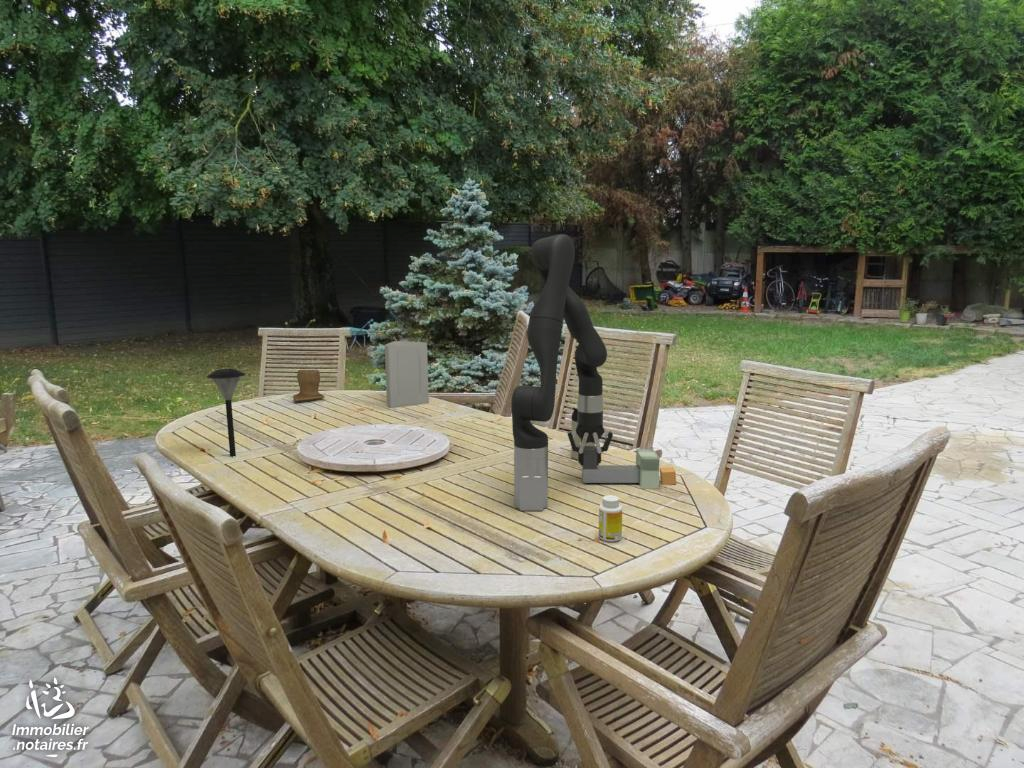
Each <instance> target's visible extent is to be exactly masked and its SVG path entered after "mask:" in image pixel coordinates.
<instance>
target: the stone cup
mask: <svg viewBox="0 0 1024 768" xmlns="http://www.w3.org/2000/svg"><path fill="white" fill-rule="evenodd" d="M296 380H297V383H298V386H299V392H298V393H296V394H293V396H292V399H293V402H294V403H303V402H310V401H316V400H320V399H323V398H324V399H325V395H324V394H322V393H320V392H319V385H320V383H321V382H320V381H321V373H320V370H318V369H298V370H297V375H296Z"/></svg>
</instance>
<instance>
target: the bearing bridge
mask: <svg viewBox="0 0 1024 768" xmlns="http://www.w3.org/2000/svg"><path fill="white" fill-rule="evenodd" d="M635 465H639V467H640V483H639V487H640V489H647V490H649V489H652V490H654V489H655V490H656V489H657V490H658V489H659V485H660V483H659V482H660V481H659V479H660V458H659V456H658V455H657V453H656V452H655V450H654V449H653V448H636V451H635Z"/></svg>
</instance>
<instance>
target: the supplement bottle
mask: <svg viewBox="0 0 1024 768" xmlns="http://www.w3.org/2000/svg"><path fill="white" fill-rule="evenodd" d="M601 502H602V503H601V504H600V505H599V506H598V537H599V539H601V540H602V541H603V542H609V543H611V542H613V543H615V542H618V541H620V540H621V539H622V535H623V534H622V533H623V530H622V529H623V506H622V505H621V504H620V497H618V496H616V495H610V494H609V495H604V496H603V497H602V500H601Z"/></svg>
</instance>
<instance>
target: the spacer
mask: <svg viewBox="0 0 1024 768" xmlns="http://www.w3.org/2000/svg"><path fill="white" fill-rule="evenodd" d="M659 478H660V482H661V484H662V485H663V486H664V485H665V486H666V485H667V486H668V485H669V486H671V485H676V484H677V475H676V470H675V468H674V466H667V467H666V466H665V467H659Z"/></svg>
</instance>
